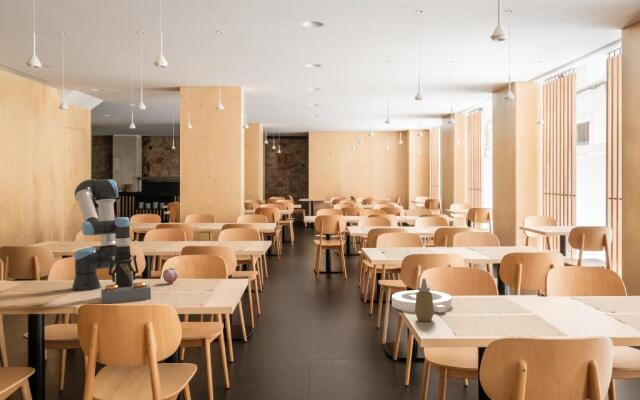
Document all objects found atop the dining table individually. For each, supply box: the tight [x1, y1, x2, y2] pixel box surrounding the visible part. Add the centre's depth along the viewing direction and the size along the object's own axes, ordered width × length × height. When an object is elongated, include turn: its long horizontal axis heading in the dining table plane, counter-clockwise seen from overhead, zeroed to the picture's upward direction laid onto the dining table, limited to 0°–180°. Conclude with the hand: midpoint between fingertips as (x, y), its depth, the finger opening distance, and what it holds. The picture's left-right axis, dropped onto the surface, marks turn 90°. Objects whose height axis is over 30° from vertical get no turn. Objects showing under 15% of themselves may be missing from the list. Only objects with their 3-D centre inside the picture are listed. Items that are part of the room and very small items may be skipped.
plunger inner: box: [104, 284, 118, 291], centre depth 281 cm, size 6×6×7 cm
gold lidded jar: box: [132, 281, 147, 289], centre depth 286 cm, size 6×6×7 cm
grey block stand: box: [100, 284, 152, 304], centre depth 284 cm, size 24×8×6 cm, turn 114°
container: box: [114, 258, 133, 288], centre depth 297 cm, size 9×9×20 cm
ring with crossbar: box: [391, 289, 452, 313], centre depth 259 cm, size 28×28×5 cm
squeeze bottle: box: [414, 278, 435, 323], centre depth 232 cm, size 8×8×18 cm
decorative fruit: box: [162, 267, 179, 284], centre depth 328 cm, size 9×8×10 cm
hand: (124, 286), depth 297 cm, fingers closed on container, 8 cm apart
